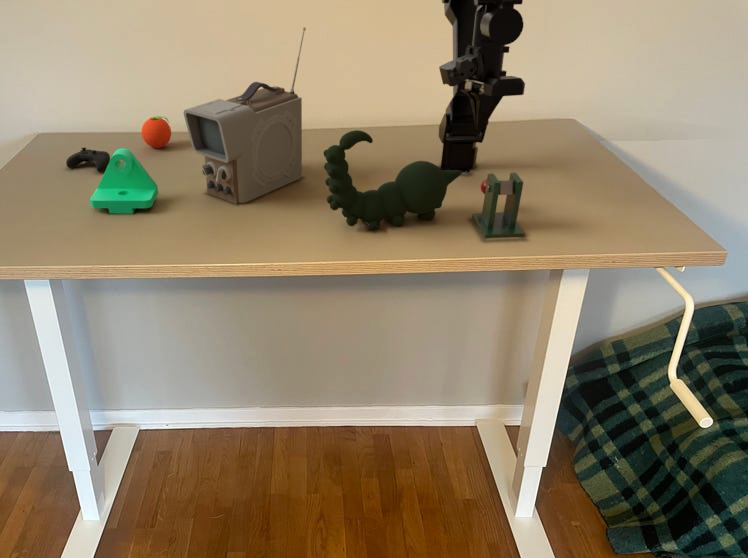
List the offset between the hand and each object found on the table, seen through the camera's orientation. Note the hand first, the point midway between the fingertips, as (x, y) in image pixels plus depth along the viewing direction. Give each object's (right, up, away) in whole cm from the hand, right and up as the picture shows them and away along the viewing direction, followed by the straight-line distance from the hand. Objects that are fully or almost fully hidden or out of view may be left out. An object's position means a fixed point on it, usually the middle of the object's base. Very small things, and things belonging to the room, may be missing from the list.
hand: (479, 129), depth 139 cm
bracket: (+2, -20, -6) cm, 21 cm away
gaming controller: (-80, 0, +26) cm, 84 cm away
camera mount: (-69, -13, +7) cm, 70 cm away
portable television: (-44, -8, +13) cm, 46 cm away
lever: (+1, -14, -6) cm, 15 cm away
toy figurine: (-17, -18, -2) cm, 25 cm away
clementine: (-66, +7, +35) cm, 75 cm away
